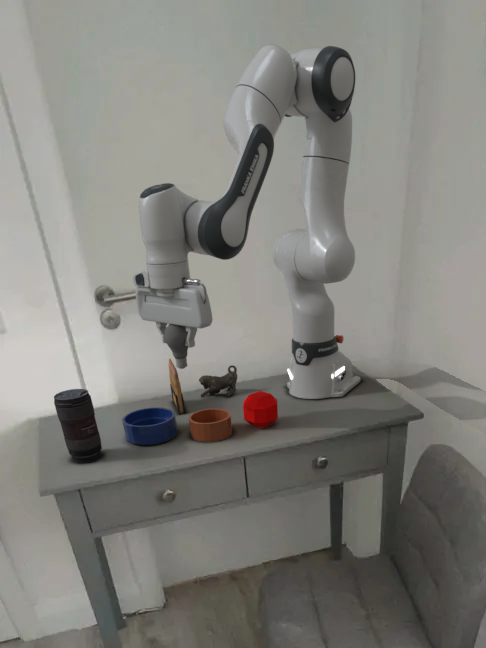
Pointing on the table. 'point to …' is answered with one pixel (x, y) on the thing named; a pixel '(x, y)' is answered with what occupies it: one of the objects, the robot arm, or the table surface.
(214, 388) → the dog figurine
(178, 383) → the ammunition clip
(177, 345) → the light bulb
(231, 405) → the table surface
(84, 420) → the camera lens
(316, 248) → the robot arm
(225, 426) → the terracotta dish
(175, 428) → the blue bowl
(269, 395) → the ball
